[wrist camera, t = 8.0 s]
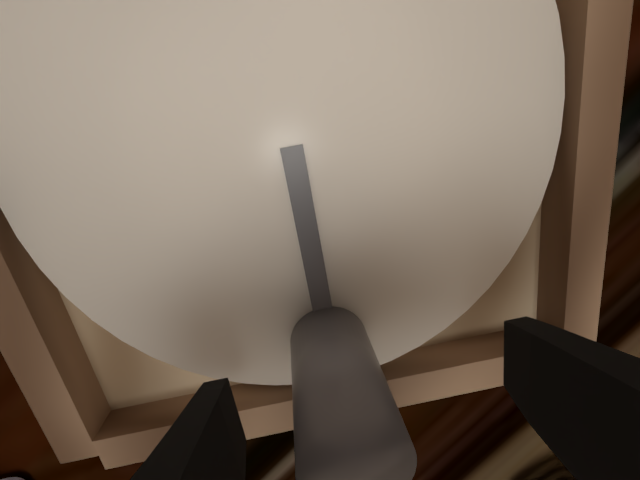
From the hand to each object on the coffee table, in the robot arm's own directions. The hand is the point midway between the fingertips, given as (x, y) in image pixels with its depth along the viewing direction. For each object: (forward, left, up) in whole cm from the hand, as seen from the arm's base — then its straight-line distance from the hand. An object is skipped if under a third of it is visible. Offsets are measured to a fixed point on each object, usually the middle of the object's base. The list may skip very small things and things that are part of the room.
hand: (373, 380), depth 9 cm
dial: (-1, +6, -3) cm, 7 cm away
